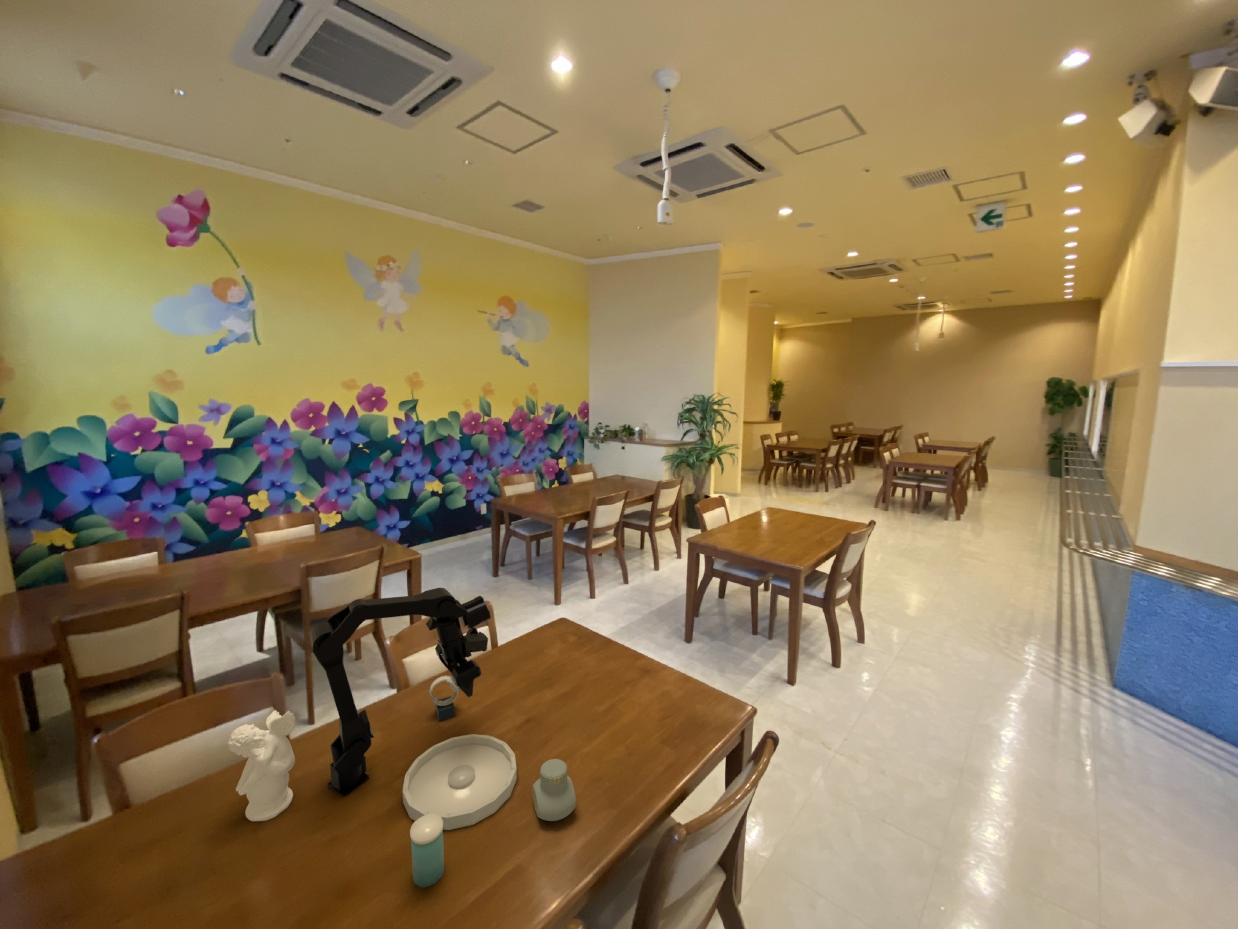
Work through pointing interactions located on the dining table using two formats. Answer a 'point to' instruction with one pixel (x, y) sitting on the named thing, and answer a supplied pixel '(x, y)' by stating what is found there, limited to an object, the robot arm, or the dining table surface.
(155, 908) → the dining table surface
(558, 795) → the air freshener
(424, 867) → the bead jar
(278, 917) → the dining table surface
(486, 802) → the groove tray
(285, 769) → the cherub figurine
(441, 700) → the watch
